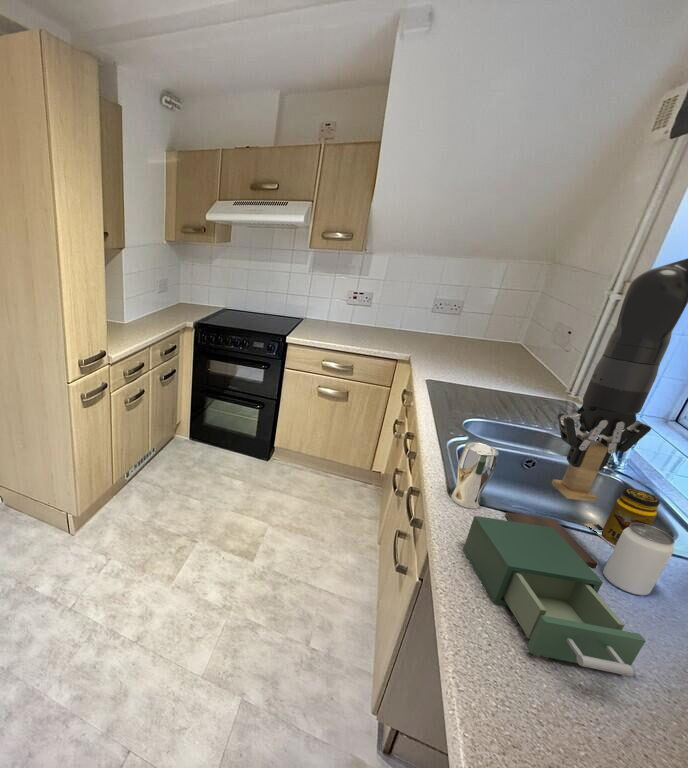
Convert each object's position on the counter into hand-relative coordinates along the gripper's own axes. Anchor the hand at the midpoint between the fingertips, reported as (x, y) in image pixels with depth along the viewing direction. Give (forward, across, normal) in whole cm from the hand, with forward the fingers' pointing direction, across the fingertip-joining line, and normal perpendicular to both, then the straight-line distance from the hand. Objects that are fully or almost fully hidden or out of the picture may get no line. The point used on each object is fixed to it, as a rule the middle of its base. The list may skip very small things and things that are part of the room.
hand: (584, 465), depth 79 cm
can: (+21, +10, -6) cm, 24 cm away
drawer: (+20, -11, -23) cm, 33 cm away
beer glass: (+21, -10, +15) cm, 28 cm away
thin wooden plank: (+21, +2, +4) cm, 22 cm away
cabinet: (+21, -11, -11) cm, 26 cm away
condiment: (+21, +18, +9) cm, 29 cm away
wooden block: (+6, 0, 0) cm, 6 cm away
